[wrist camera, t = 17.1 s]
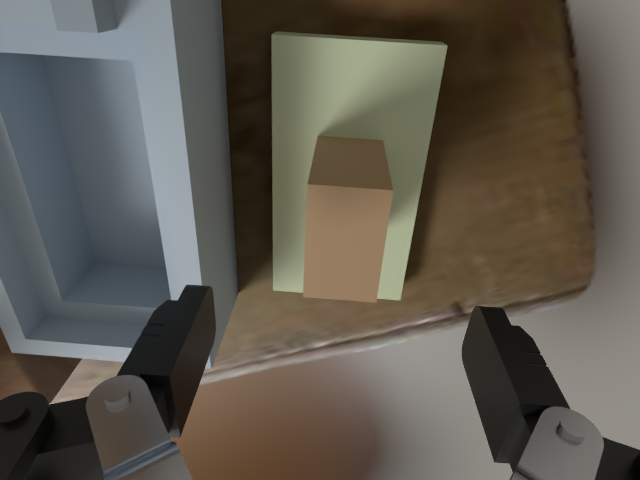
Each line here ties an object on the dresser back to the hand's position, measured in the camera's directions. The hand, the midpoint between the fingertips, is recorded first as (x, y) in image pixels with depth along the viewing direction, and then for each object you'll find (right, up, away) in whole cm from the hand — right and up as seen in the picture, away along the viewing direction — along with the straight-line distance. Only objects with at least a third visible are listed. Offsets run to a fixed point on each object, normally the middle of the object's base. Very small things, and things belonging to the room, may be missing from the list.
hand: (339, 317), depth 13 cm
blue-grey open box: (-10, +9, +7) cm, 15 cm away
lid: (+1, +6, +9) cm, 11 cm away
